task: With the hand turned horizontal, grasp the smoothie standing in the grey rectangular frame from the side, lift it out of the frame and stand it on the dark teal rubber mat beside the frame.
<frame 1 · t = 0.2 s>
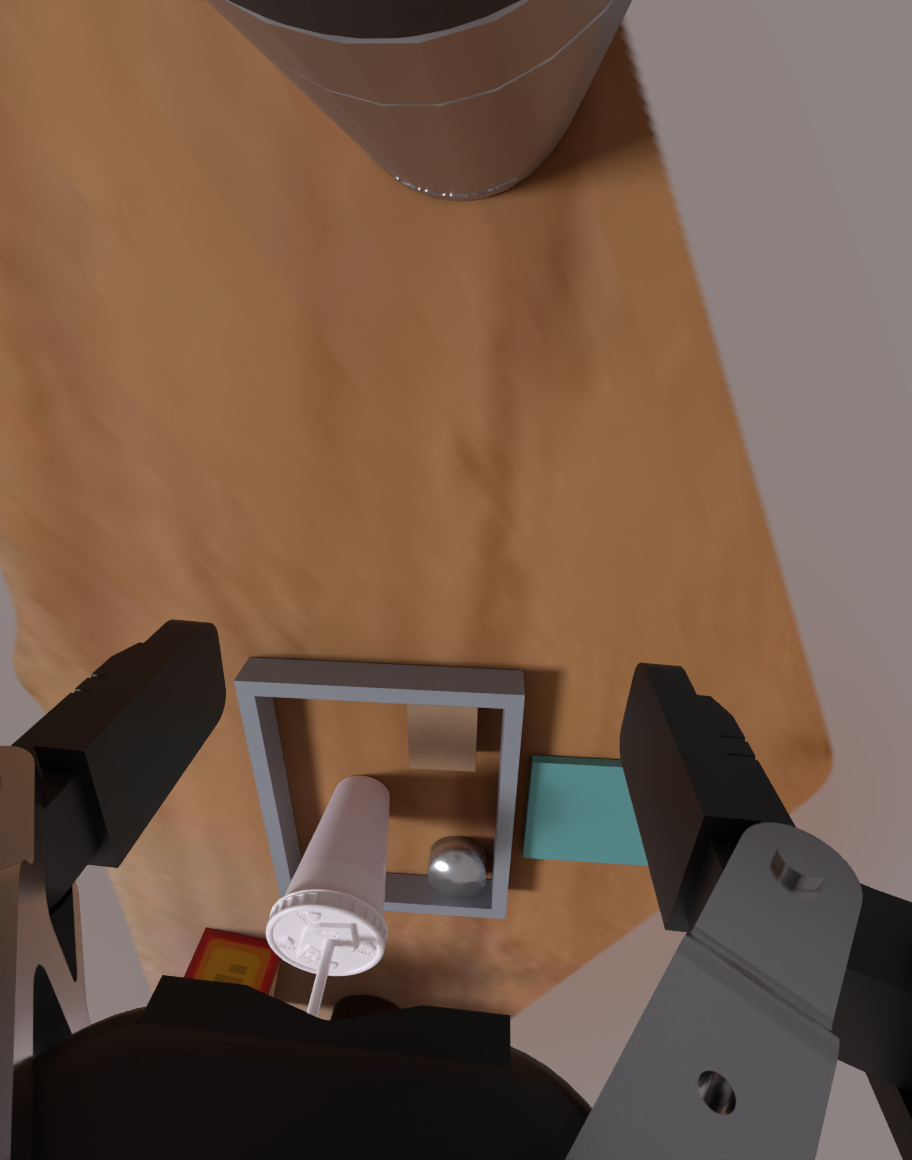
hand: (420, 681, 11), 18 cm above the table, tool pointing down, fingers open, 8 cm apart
silver round puck: (458, 852, 41), resting in grey rectangular frame
baking soda box: (242, 963, 49), on the table
smoothie: (363, 792, 38), resting in grey rectangular frame
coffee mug: (360, 1003, 51), on the table
walnut tile: (445, 715, 35), resting in grey rectangular frame
teal mat: (595, 809, 38), on the table
grey rectangular frame: (391, 786, 38), on the table
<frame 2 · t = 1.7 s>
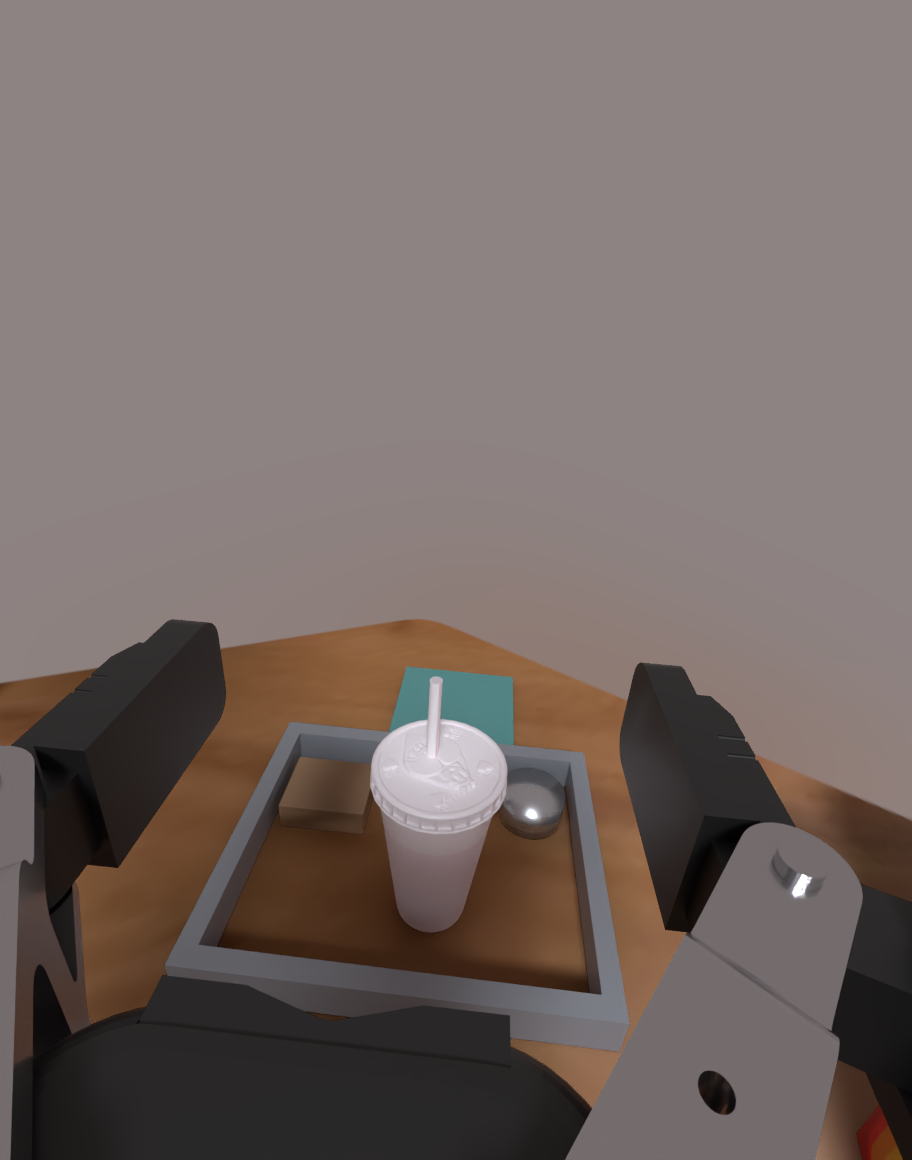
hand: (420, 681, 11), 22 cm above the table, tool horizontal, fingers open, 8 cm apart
silver round puck: (528, 814, 36), resting in grey rectangular frame
smoothie: (430, 900, 31), resting in grey rectangular frame
walnut tile: (330, 807, 36), resting in grey rectangular frame
teal mat: (454, 711, 44), on the table
grey rectangular frame: (417, 863, 32), on the table
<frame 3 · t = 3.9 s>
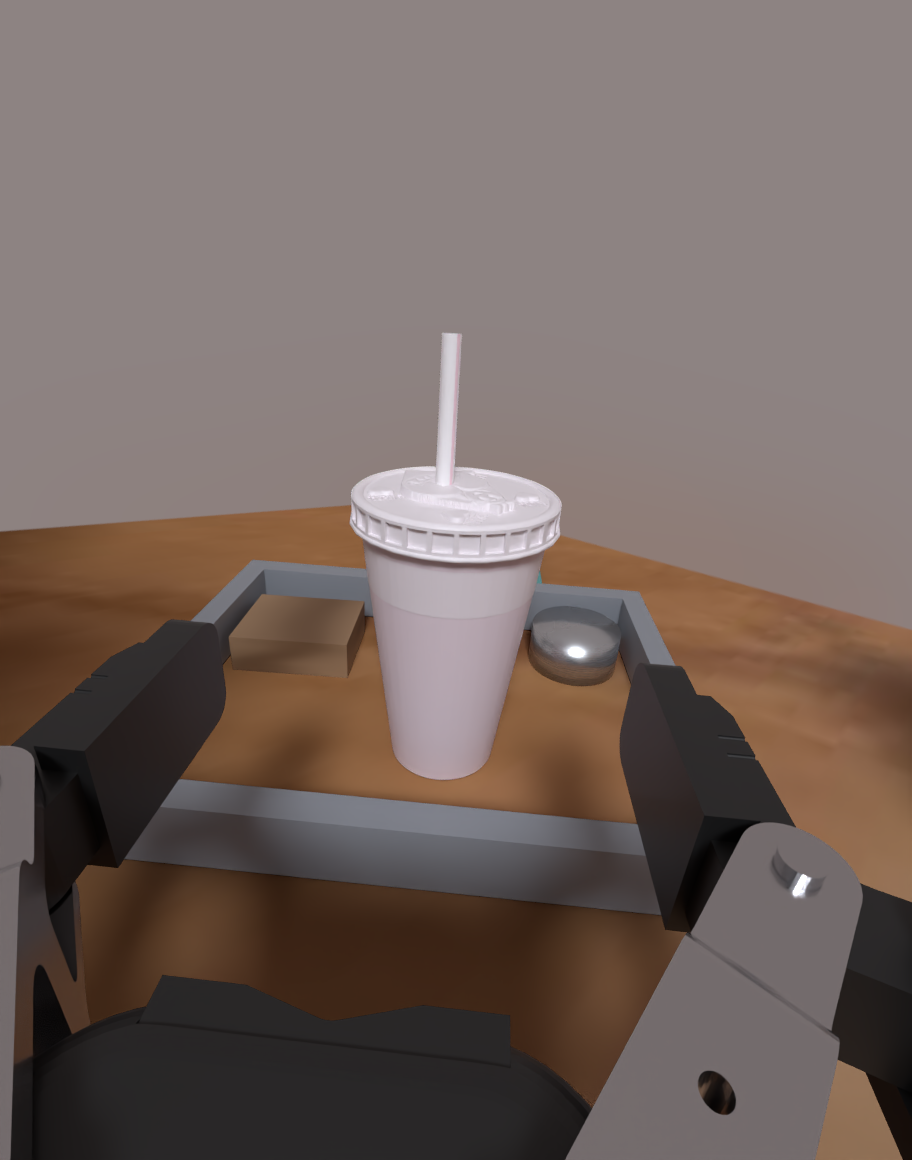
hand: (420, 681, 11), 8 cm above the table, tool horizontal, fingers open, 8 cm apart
silver round puck: (570, 663, 27), resting in grey rectangular frame
smoothie: (441, 747, 21), resting in grey rectangular frame
walnut tile: (303, 655, 27), resting in grey rectangular frame
grey rectangular frame: (422, 706, 23), on the table
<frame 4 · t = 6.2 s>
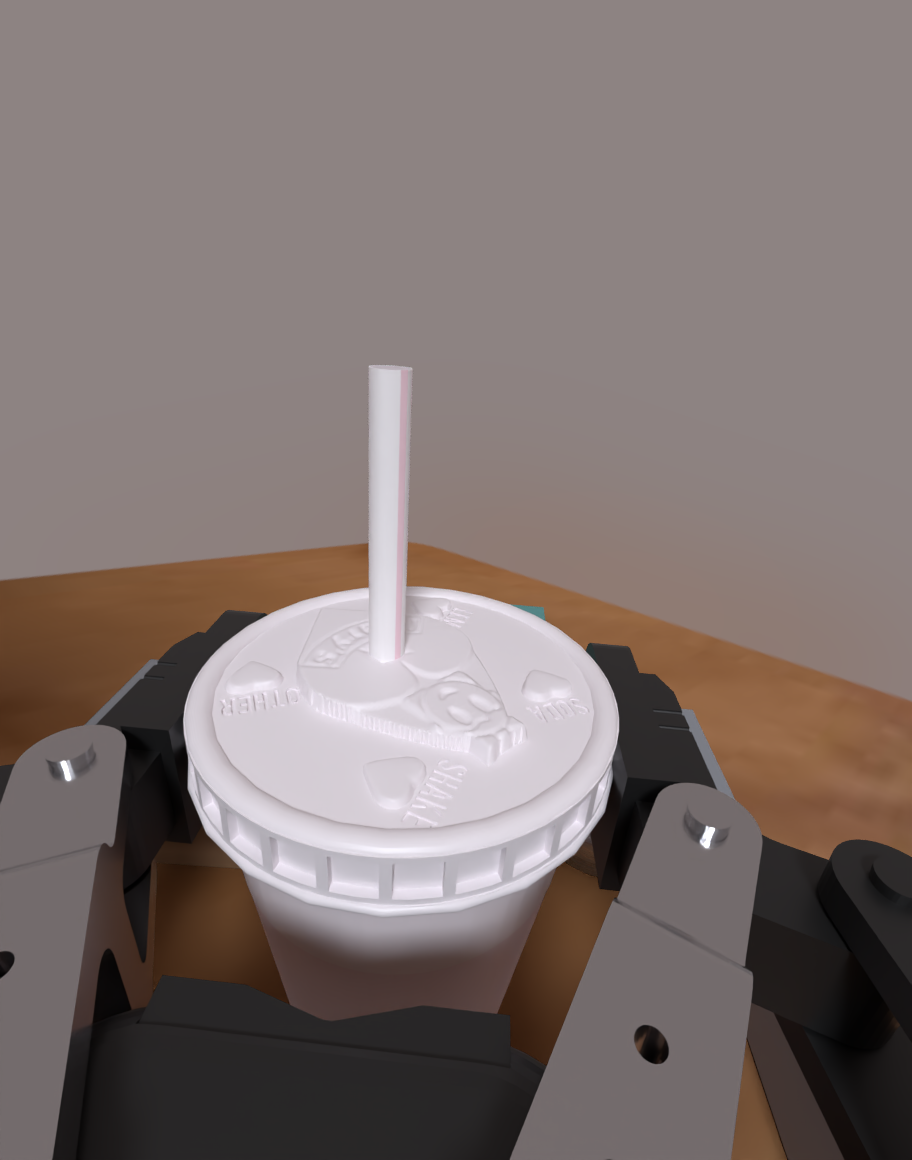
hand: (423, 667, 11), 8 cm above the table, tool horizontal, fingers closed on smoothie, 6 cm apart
silver round puck: (598, 826, 19), resting in grey rectangular frame
smoothie: (396, 1037, 13), resting in grey rectangular frame, touching gripper
walnut tile: (208, 816, 18), resting in grey rectangular frame
grey rectangular frame: (371, 938, 15), on the table
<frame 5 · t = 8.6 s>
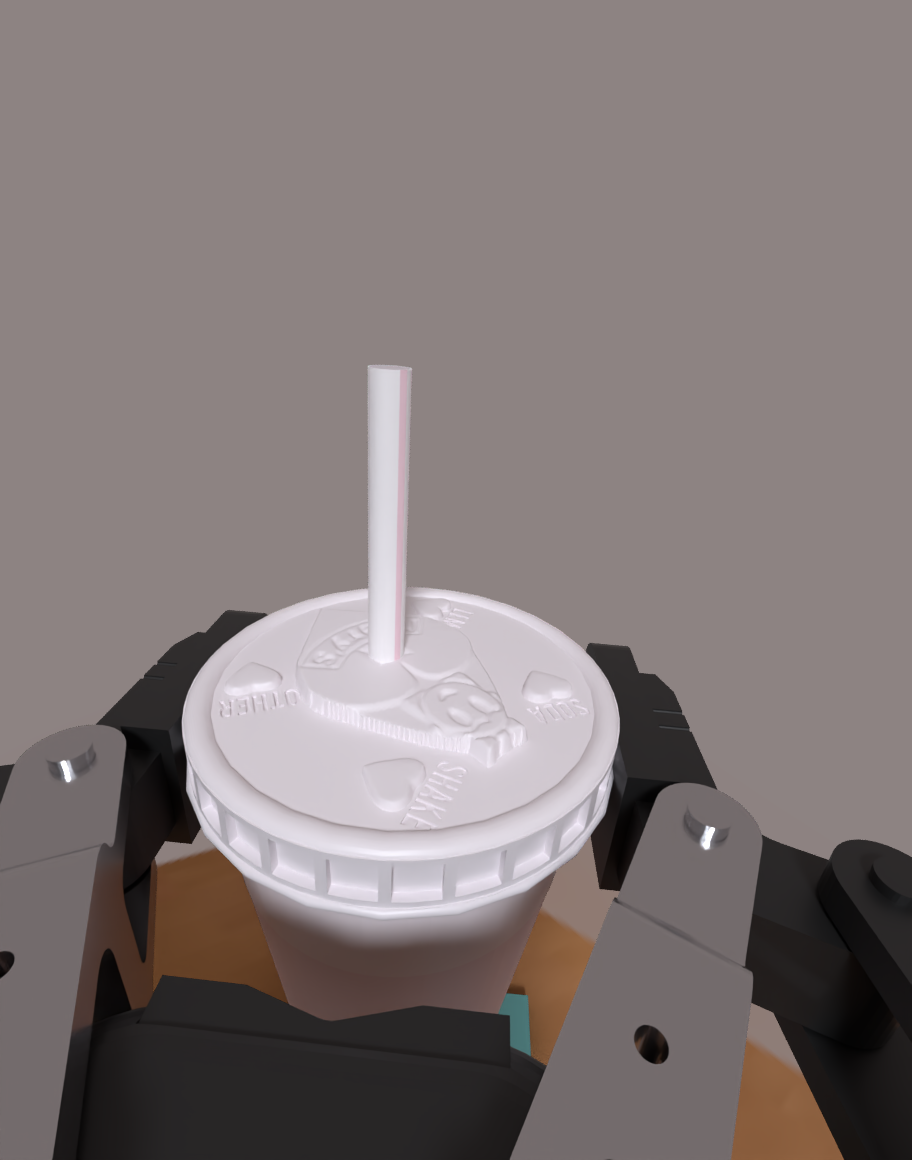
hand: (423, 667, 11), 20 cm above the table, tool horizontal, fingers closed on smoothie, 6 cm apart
smoothie: (396, 1038, 13), point 11 cm above the table, touching gripper
teal mat: (404, 1131, 20), on the table
when the fingers open (10 cm above the table, at t = 11.3 s): smoothie stays where it is, resting on teal mat.
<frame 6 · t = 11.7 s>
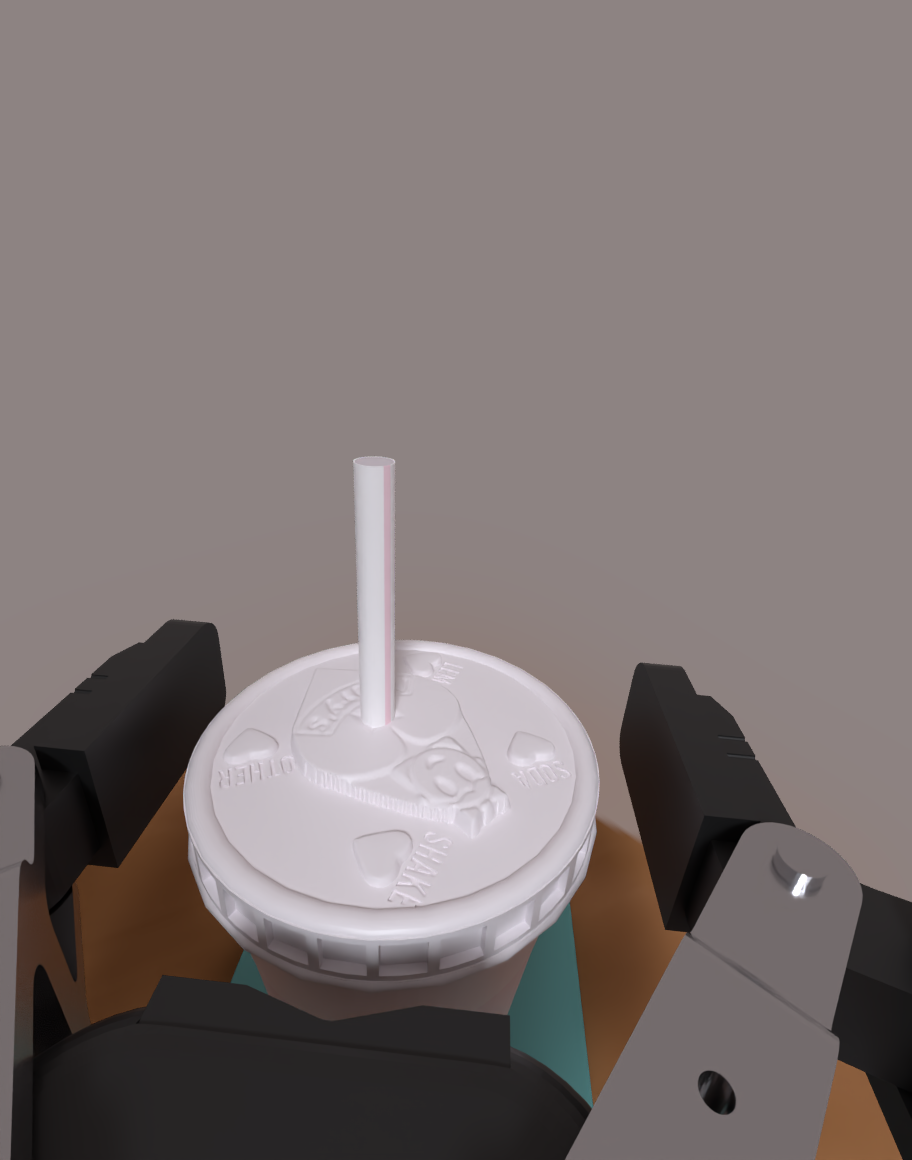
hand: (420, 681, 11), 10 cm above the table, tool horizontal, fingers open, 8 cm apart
smoothie: (396, 1072, 13), resting on teal mat
teal mat: (396, 1074, 14), on the table
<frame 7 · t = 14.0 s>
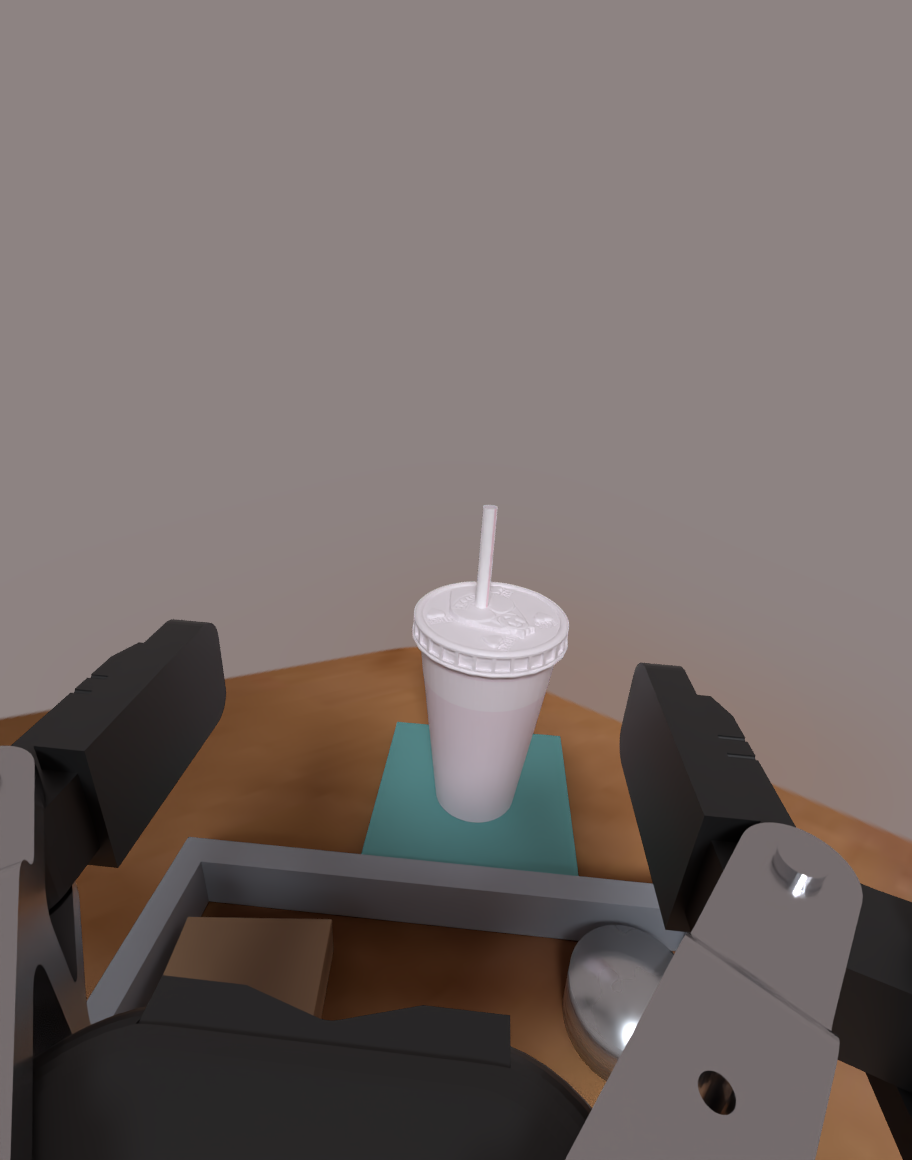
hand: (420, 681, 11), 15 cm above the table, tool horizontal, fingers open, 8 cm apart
silver round puck: (621, 1021, 19), resting in grey rectangular frame
smoothie: (474, 794, 27), resting on teal mat
walnut tile: (248, 1014, 19), resting in grey rectangular frame
teal mat: (473, 799, 28), on the table
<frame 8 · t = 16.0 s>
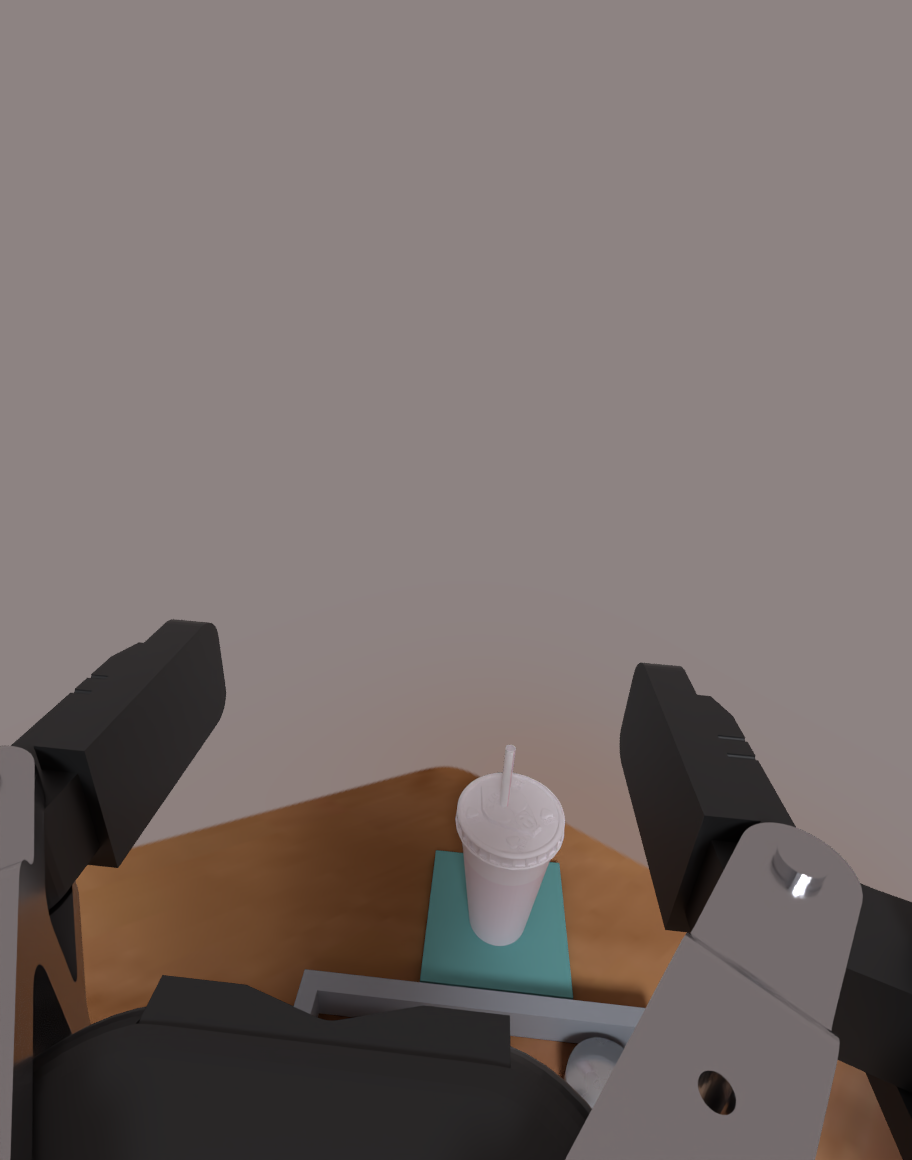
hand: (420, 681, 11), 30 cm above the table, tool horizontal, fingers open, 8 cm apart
silver round puck: (599, 1103, 30), resting in grey rectangular frame
smoothie: (497, 919, 37), resting on teal mat
teal mat: (495, 921, 38), on the table
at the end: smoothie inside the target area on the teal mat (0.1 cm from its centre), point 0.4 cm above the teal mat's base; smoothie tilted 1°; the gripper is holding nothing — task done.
